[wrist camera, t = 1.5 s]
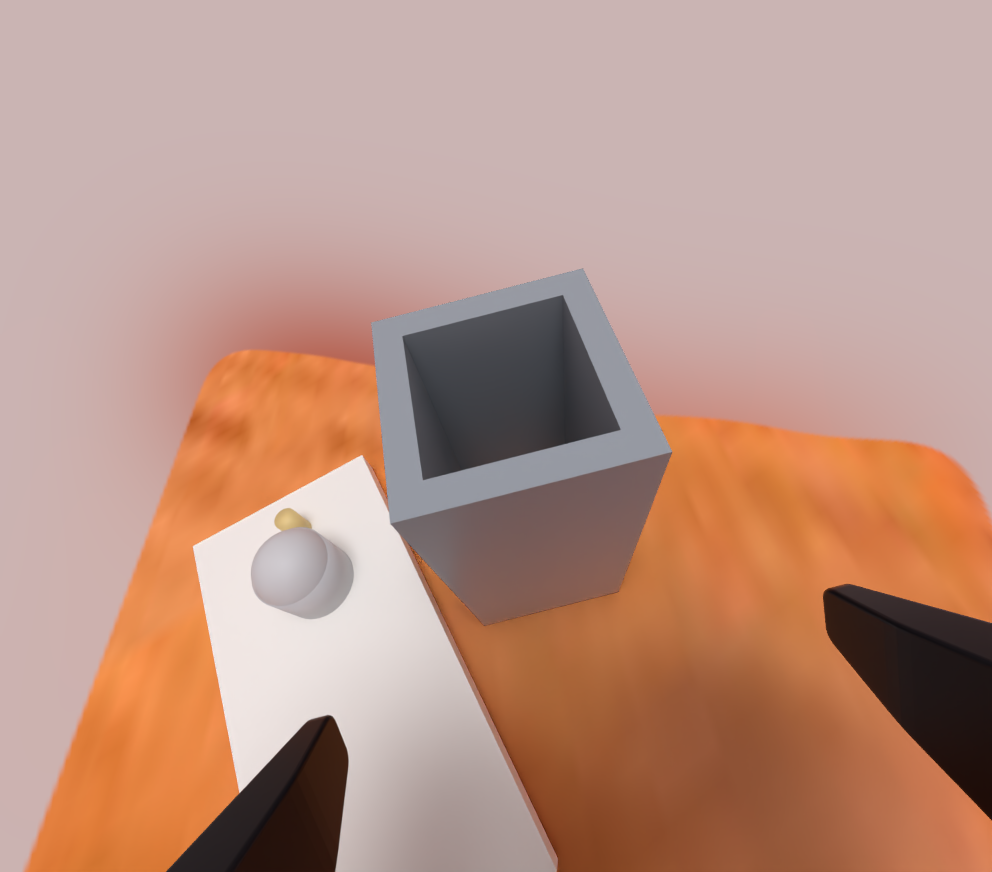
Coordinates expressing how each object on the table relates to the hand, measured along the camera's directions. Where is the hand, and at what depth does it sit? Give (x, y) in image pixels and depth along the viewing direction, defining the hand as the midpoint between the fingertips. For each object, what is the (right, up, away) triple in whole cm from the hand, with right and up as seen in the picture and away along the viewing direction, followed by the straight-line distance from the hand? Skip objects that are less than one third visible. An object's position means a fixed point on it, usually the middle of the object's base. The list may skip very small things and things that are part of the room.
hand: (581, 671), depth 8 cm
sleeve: (0, -1, +14) cm, 14 cm away
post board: (-8, -6, +12) cm, 15 cm away
